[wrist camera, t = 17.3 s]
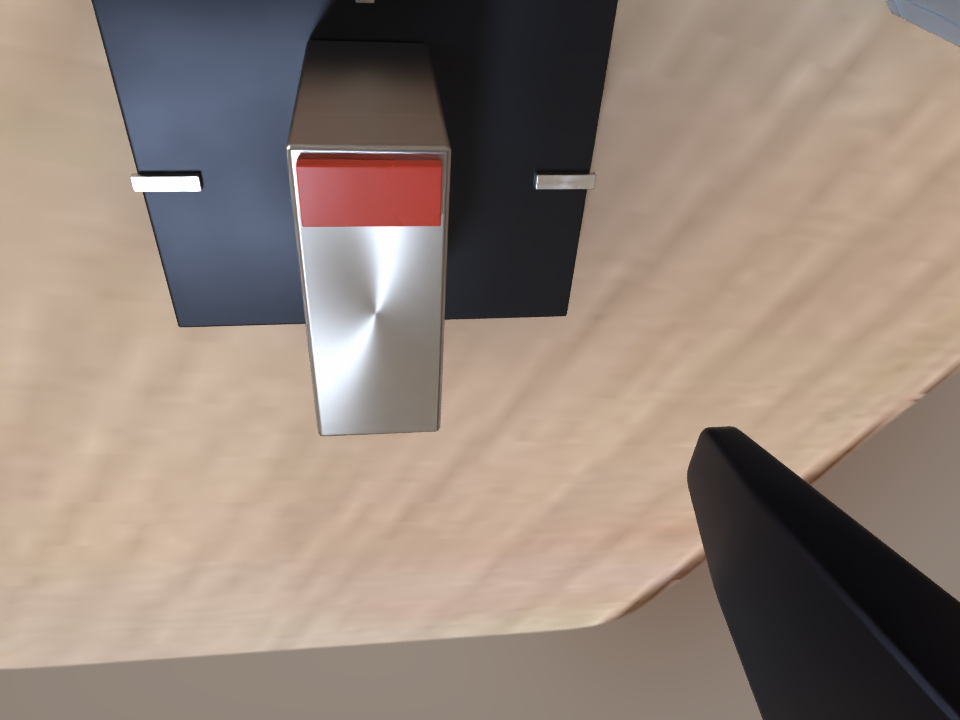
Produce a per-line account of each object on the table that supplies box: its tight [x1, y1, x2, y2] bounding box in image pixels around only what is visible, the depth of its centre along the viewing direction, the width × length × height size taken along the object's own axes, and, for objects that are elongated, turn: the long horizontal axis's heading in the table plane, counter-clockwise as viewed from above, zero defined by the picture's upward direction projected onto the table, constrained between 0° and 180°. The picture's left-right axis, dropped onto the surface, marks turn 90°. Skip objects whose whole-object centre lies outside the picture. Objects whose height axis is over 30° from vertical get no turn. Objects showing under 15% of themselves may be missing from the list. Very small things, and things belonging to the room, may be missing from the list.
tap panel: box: [92, 0, 618, 327], centre depth 17 cm, size 10×10×3 cm
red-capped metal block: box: [286, 40, 451, 436], centre depth 14 cm, size 6×2×5 cm, turn 176°
